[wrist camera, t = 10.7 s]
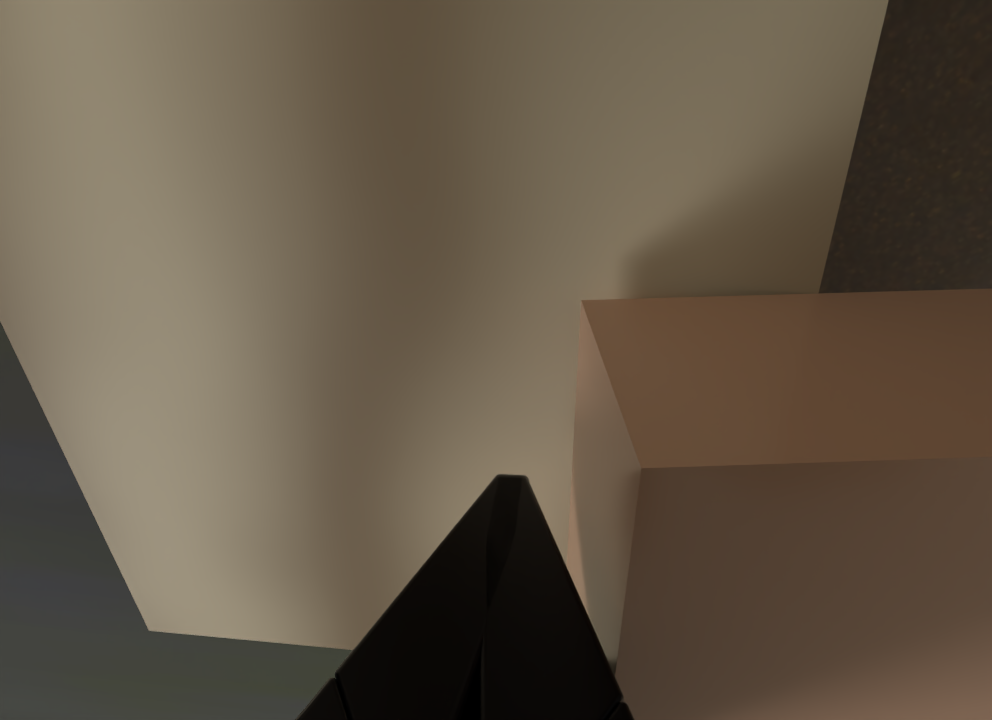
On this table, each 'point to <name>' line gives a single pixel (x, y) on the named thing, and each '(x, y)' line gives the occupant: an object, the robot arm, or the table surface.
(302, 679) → the table surface
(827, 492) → the tan clay block
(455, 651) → the robot arm
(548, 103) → the beige elongated piece
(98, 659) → the table surface
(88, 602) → the table surface
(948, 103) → the plant saucer
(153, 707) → the table surface
